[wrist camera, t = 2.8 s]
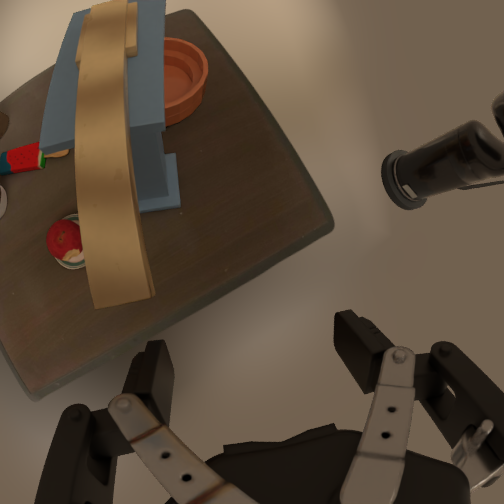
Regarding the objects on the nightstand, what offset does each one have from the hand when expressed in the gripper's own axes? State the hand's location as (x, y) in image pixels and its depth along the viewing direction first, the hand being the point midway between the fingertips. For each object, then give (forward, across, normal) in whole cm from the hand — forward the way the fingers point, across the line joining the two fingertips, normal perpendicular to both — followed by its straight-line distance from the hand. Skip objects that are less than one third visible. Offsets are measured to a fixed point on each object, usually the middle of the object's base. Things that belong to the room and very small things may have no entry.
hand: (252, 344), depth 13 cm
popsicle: (+31, +31, -16) cm, 47 cm away
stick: (+3, +6, -11) cm, 13 cm away
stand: (+31, +10, -7) cm, 33 cm away
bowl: (+37, +8, -23) cm, 44 cm away
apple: (+27, +22, -1) cm, 35 cm away
